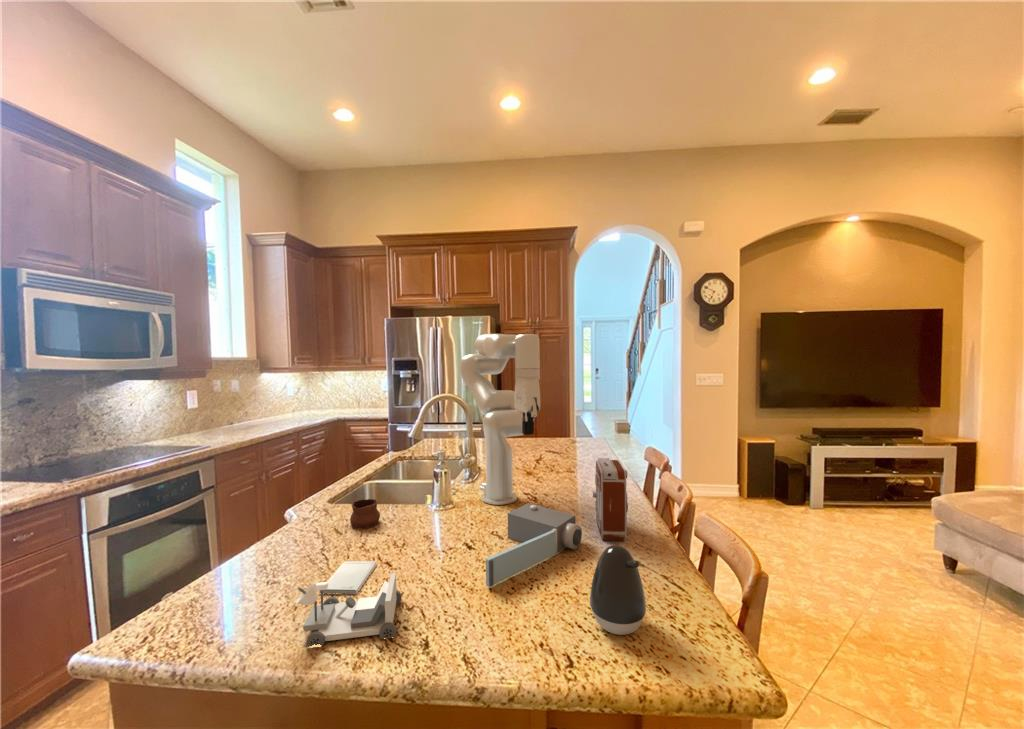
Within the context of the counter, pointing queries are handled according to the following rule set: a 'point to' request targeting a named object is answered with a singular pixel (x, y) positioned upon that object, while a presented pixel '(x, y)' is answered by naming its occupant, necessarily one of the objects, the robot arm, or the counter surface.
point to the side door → (520, 557)
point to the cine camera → (611, 499)
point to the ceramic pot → (364, 514)
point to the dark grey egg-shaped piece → (617, 592)
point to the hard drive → (350, 577)
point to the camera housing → (543, 525)
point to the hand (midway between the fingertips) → (528, 434)
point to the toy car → (350, 614)
